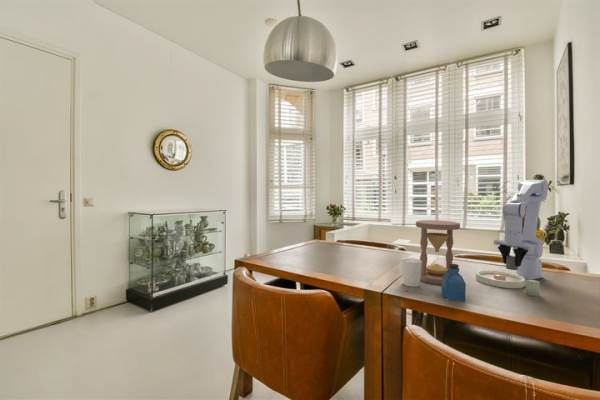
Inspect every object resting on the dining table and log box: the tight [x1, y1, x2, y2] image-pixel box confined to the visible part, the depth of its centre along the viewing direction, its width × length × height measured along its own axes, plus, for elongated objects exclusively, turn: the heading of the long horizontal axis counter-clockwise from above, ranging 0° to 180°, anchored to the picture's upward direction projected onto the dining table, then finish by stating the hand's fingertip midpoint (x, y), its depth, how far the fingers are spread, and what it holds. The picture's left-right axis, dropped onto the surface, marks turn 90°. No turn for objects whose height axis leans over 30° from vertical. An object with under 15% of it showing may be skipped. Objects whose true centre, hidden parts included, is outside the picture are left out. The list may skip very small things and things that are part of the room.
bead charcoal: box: [505, 255, 518, 271], centre depth 120 cm, size 4×4×5 cm
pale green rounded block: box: [525, 279, 541, 297], centre depth 110 cm, size 4×4×5 cm
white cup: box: [401, 257, 422, 288], centre depth 121 cm, size 8×8×10 cm
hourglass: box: [415, 219, 461, 286], centre depth 128 cm, size 18×18×25 cm
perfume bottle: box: [441, 263, 467, 302], centre depth 107 cm, size 6×6×12 cm
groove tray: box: [475, 269, 526, 289], centre depth 125 cm, size 17×17×2 cm
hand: (512, 264), depth 120 cm, fingers closed on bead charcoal, 4 cm apart
